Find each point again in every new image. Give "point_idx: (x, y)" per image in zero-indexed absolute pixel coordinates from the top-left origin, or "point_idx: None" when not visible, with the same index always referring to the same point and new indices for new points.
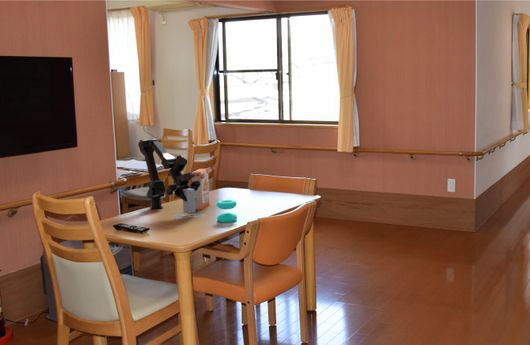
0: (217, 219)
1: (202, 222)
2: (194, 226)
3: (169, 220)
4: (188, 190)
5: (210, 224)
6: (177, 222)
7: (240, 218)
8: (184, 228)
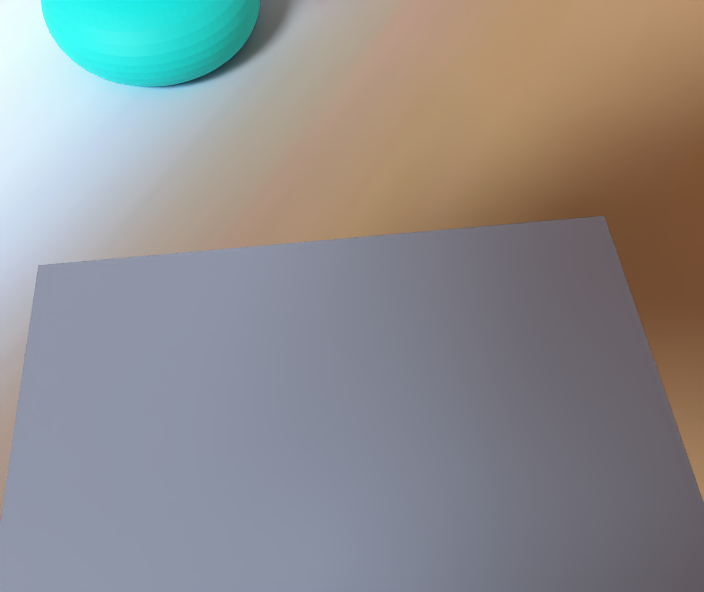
0: (252, 25)
1: (389, 110)
2: (528, 34)
3: (699, 468)
4: (513, 230)
5: (370, 8)
6: (629, 283)
7: (8, 20)
8: (638, 29)
